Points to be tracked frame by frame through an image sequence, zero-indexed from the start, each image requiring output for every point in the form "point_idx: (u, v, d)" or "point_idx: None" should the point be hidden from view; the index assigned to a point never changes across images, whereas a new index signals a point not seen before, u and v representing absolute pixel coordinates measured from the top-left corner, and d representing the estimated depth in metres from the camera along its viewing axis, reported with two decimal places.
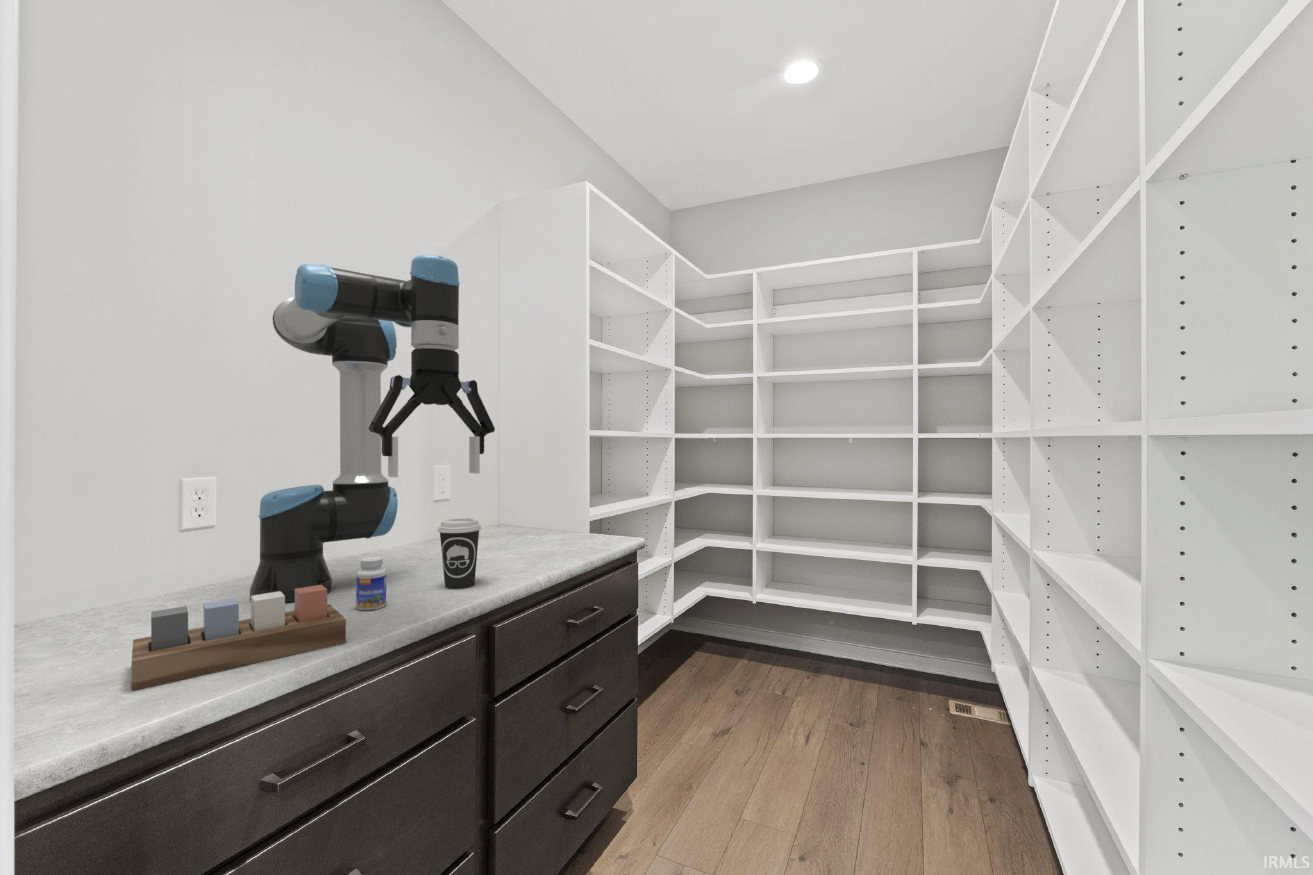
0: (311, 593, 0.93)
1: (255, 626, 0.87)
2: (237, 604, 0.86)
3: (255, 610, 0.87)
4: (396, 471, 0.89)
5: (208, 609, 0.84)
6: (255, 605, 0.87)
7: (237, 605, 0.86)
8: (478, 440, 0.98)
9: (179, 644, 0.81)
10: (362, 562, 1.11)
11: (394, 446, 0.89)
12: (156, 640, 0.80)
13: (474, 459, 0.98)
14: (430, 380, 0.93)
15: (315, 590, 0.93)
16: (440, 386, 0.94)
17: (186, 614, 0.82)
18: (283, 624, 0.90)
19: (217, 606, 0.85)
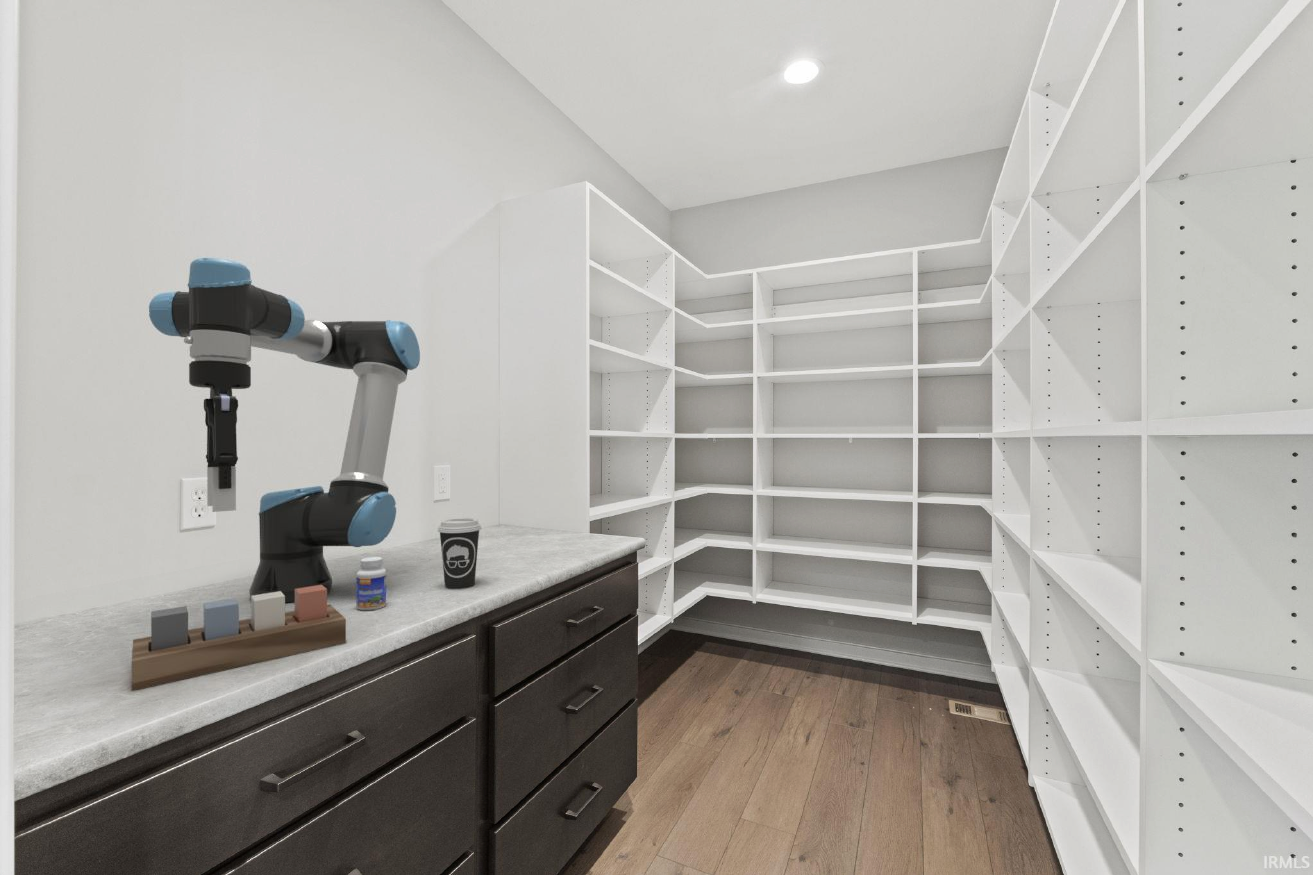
0: (311, 593, 0.93)
1: (255, 626, 0.87)
2: (237, 604, 0.86)
3: (255, 610, 0.87)
4: (207, 500, 0.89)
5: (208, 609, 0.84)
6: (255, 605, 0.87)
7: (237, 605, 0.86)
8: (212, 472, 0.82)
9: (179, 644, 0.81)
10: (362, 562, 1.11)
11: (207, 475, 0.89)
12: (156, 640, 0.80)
13: None
14: (211, 393, 0.86)
15: (315, 590, 0.93)
16: (211, 397, 0.85)
17: (186, 614, 0.82)
18: (283, 624, 0.90)
19: (217, 606, 0.85)
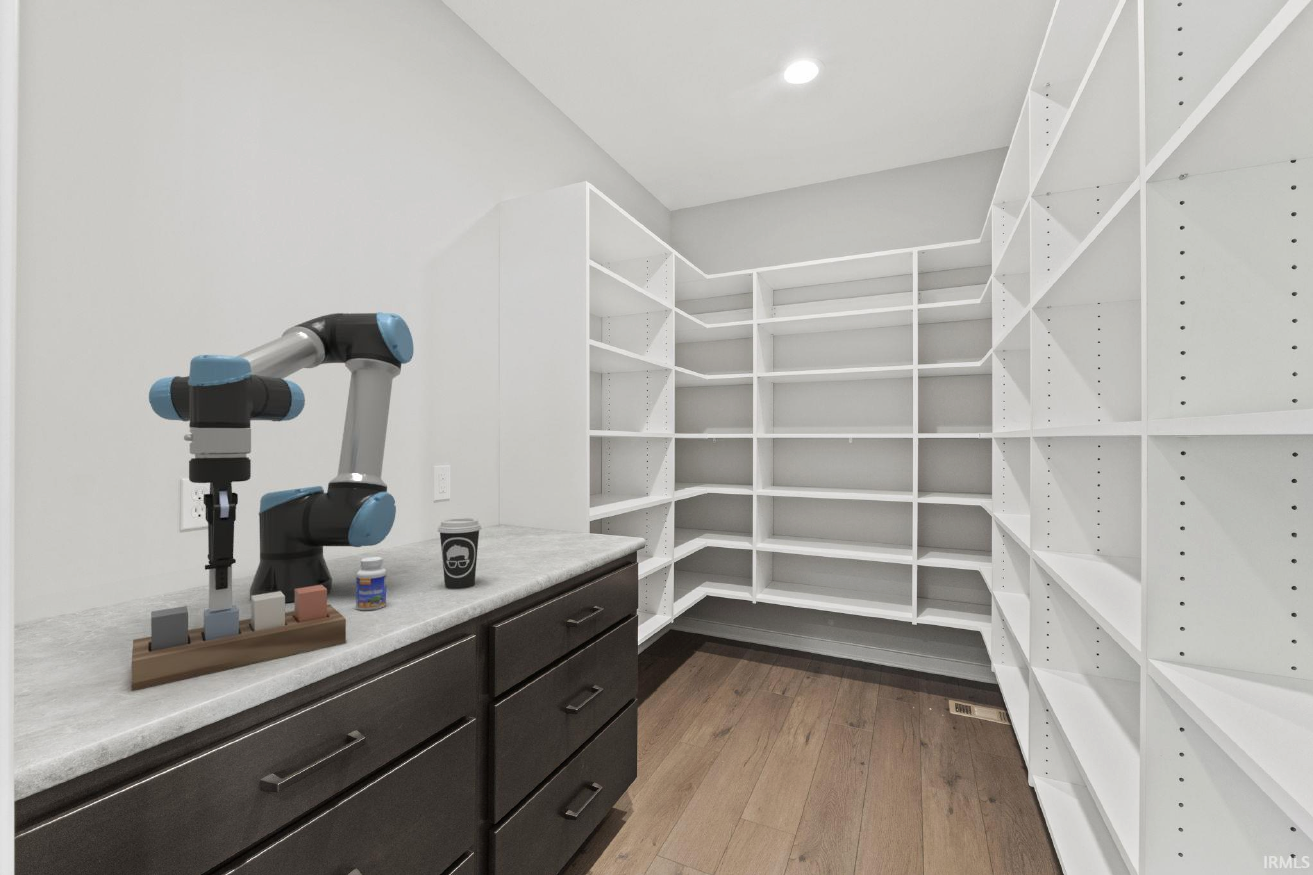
0: (311, 593, 0.93)
1: (255, 626, 0.87)
2: (237, 611, 0.86)
3: (255, 610, 0.87)
4: None
5: (208, 616, 0.84)
6: (255, 605, 0.87)
7: (237, 612, 0.86)
8: (209, 573, 0.85)
9: (179, 644, 0.81)
10: (362, 562, 1.11)
11: None
12: (156, 640, 0.80)
13: None
14: (210, 483, 0.87)
15: (315, 590, 0.93)
16: None
17: (186, 614, 0.82)
18: (283, 624, 0.90)
19: (217, 613, 0.85)
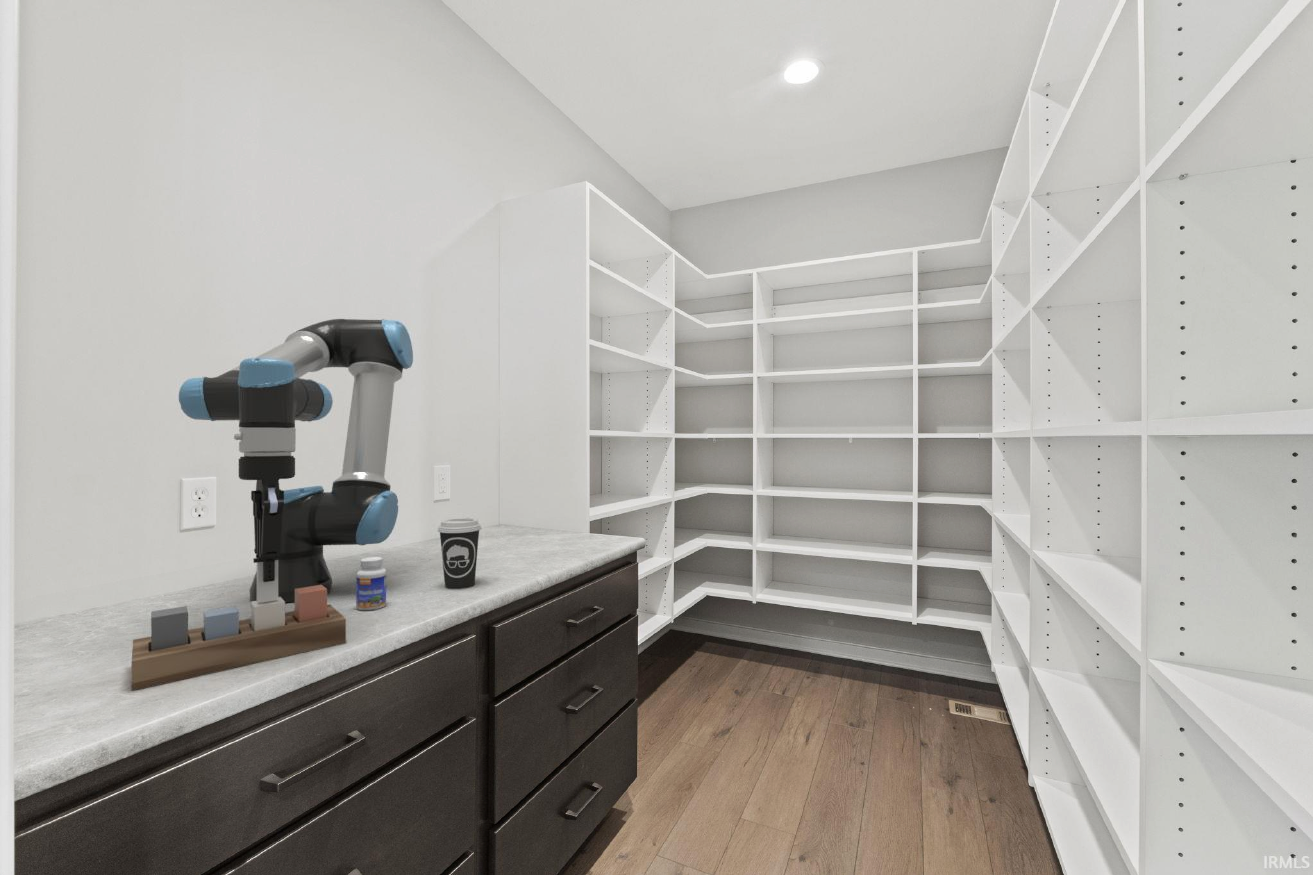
0: (311, 593, 0.93)
1: None
2: (237, 612, 0.86)
3: (255, 616, 0.87)
4: (256, 596, 0.89)
5: (208, 617, 0.84)
6: (255, 611, 0.87)
7: (237, 613, 0.86)
8: (257, 566, 0.89)
9: (179, 644, 0.81)
10: (362, 562, 1.11)
11: None
12: (156, 640, 0.80)
13: None
14: (257, 480, 0.91)
15: (315, 590, 0.93)
16: (259, 482, 0.89)
17: (186, 614, 0.82)
18: None
19: (217, 614, 0.85)
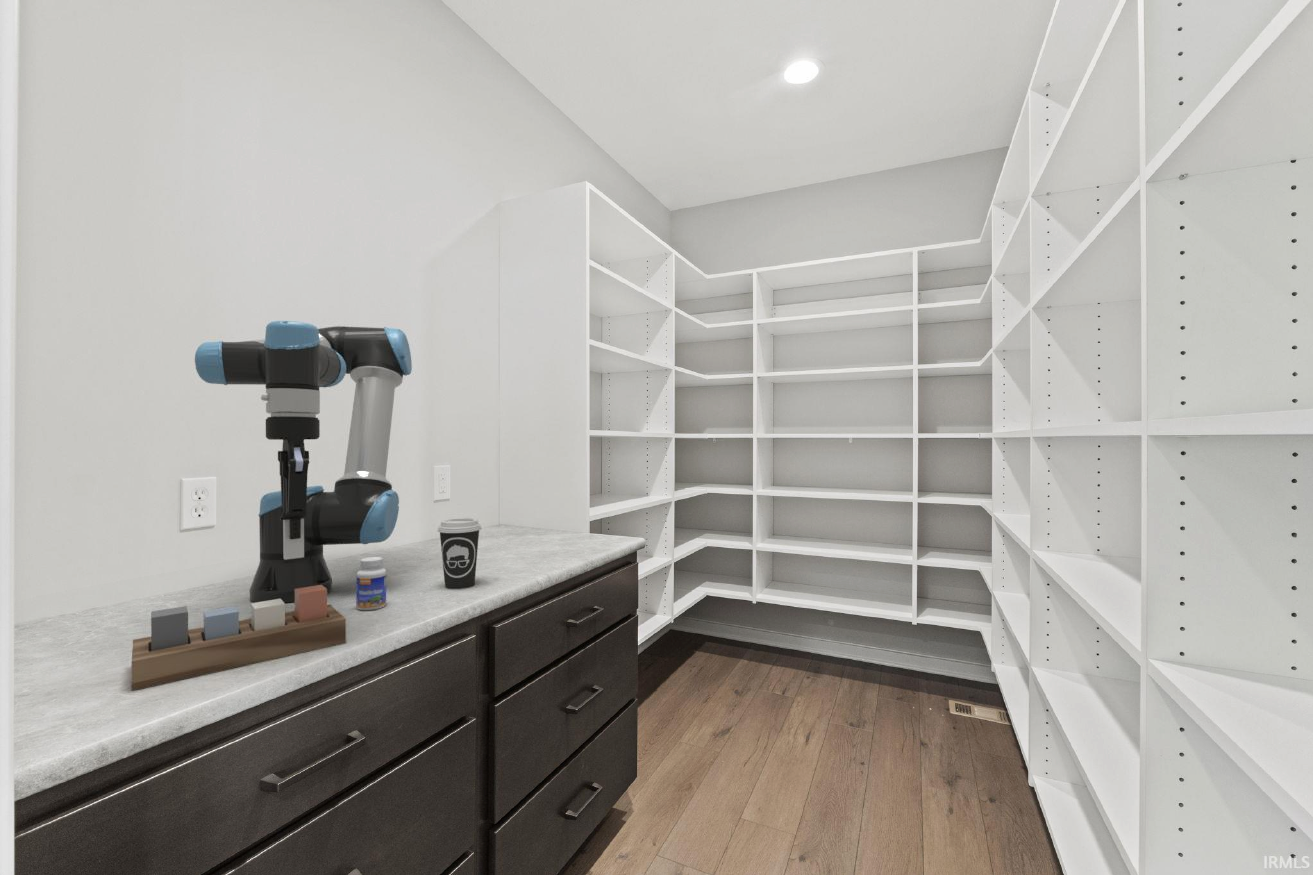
0: (311, 593, 0.93)
1: None
2: (237, 612, 0.86)
3: (255, 618, 0.87)
4: (283, 553, 0.92)
5: (208, 617, 0.84)
6: (255, 613, 0.87)
7: (237, 613, 0.86)
8: (284, 524, 0.91)
9: (179, 644, 0.81)
10: (362, 562, 1.11)
11: (283, 528, 0.92)
12: (156, 640, 0.80)
13: None
14: (283, 441, 0.93)
15: (315, 590, 0.93)
16: (286, 442, 0.91)
17: (186, 614, 0.82)
18: None
19: (217, 614, 0.85)
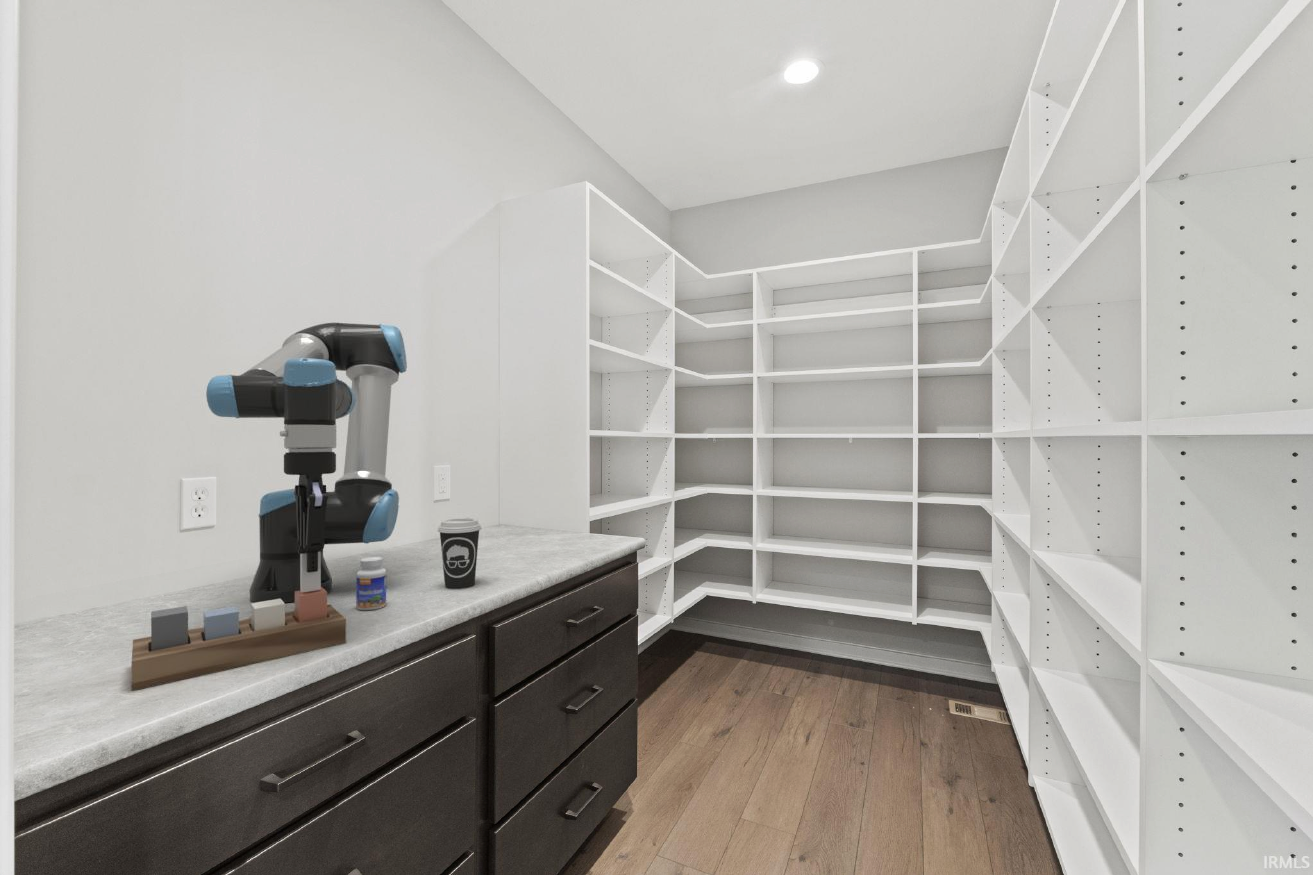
0: (311, 595, 0.93)
1: None
2: (237, 612, 0.86)
3: (255, 618, 0.87)
4: (300, 586, 0.93)
5: (208, 617, 0.84)
6: (255, 613, 0.87)
7: (237, 613, 0.86)
8: (301, 557, 0.93)
9: (179, 644, 0.81)
10: (362, 562, 1.11)
11: (300, 561, 0.94)
12: (156, 640, 0.80)
13: None
14: (300, 475, 0.95)
15: (315, 592, 0.93)
16: (303, 477, 0.93)
17: (186, 614, 0.82)
18: None
19: (217, 614, 0.85)
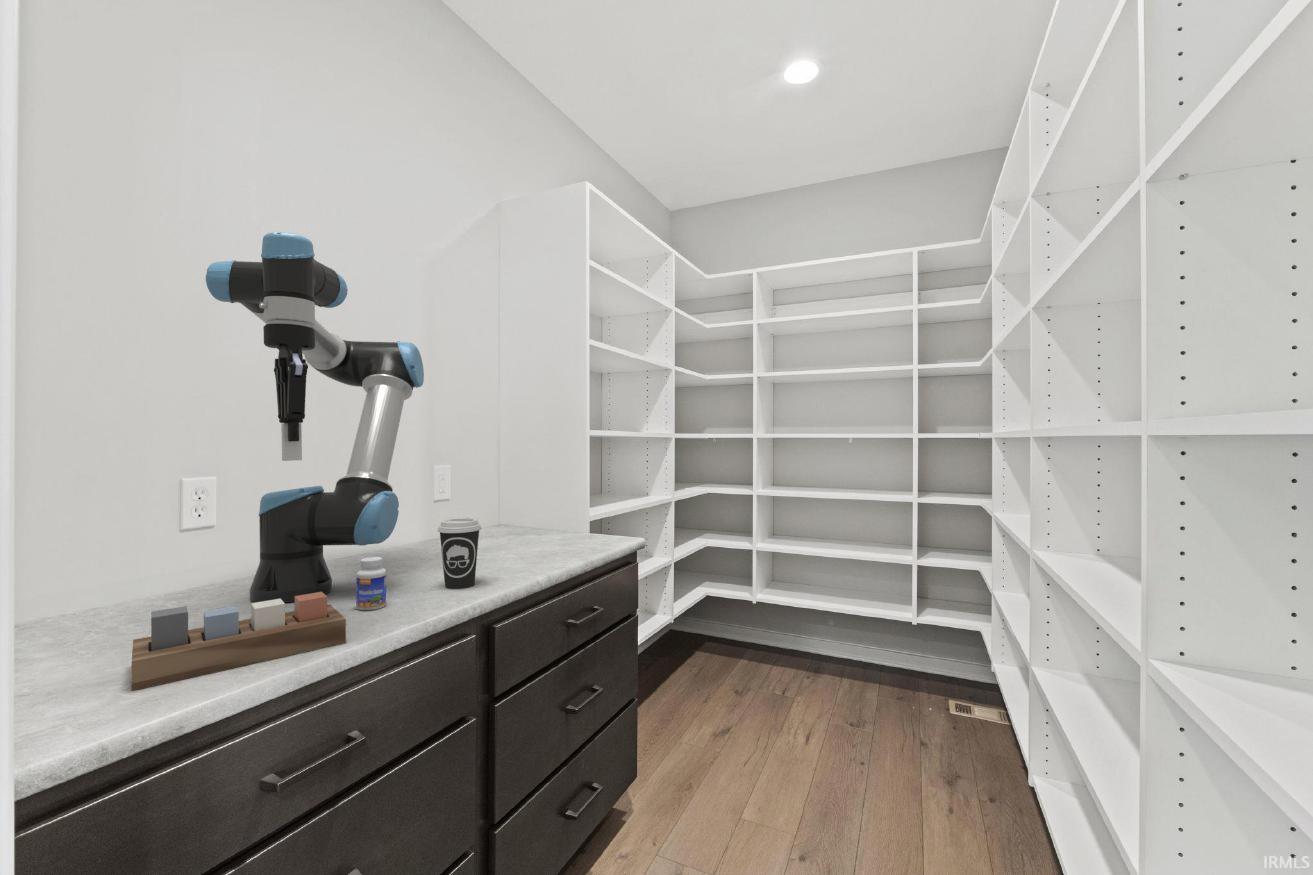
0: (311, 600, 0.93)
1: None
2: (237, 612, 0.86)
3: (255, 618, 0.87)
4: (282, 455, 0.97)
5: (208, 617, 0.84)
6: (255, 613, 0.87)
7: (237, 613, 0.86)
8: (283, 427, 0.96)
9: (179, 644, 0.81)
10: (362, 562, 1.11)
11: None
12: (156, 640, 0.80)
13: None
14: (280, 350, 0.98)
15: (315, 597, 0.93)
16: (283, 350, 0.96)
17: (186, 614, 0.82)
18: None
19: (217, 614, 0.85)
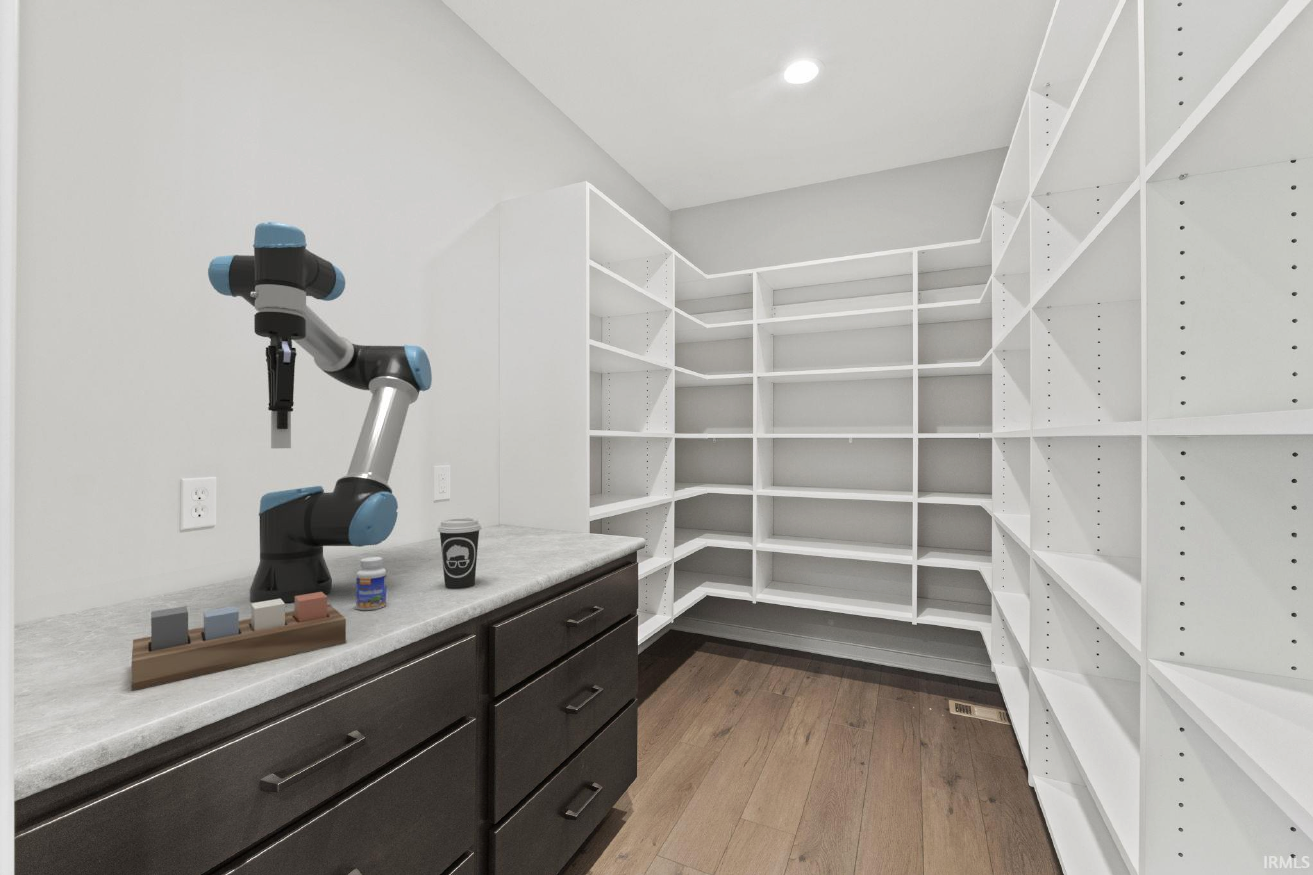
0: (311, 600, 0.93)
1: None
2: (237, 612, 0.86)
3: (255, 618, 0.87)
4: (271, 443, 0.97)
5: (208, 617, 0.84)
6: (255, 613, 0.87)
7: (237, 613, 0.86)
8: (272, 415, 0.97)
9: (179, 644, 0.81)
10: (362, 562, 1.11)
11: None
12: (156, 640, 0.80)
13: None
14: (271, 339, 0.99)
15: (315, 597, 0.93)
16: (273, 338, 0.97)
17: (186, 614, 0.82)
18: None
19: (217, 614, 0.85)
